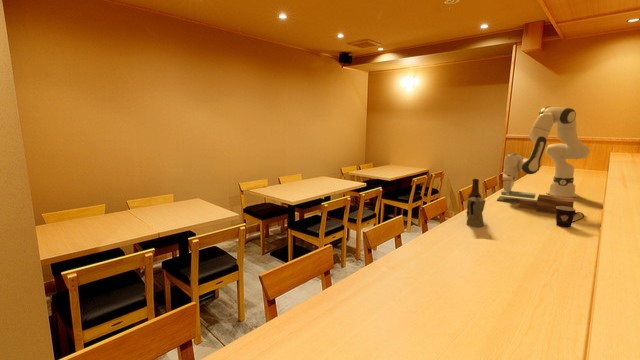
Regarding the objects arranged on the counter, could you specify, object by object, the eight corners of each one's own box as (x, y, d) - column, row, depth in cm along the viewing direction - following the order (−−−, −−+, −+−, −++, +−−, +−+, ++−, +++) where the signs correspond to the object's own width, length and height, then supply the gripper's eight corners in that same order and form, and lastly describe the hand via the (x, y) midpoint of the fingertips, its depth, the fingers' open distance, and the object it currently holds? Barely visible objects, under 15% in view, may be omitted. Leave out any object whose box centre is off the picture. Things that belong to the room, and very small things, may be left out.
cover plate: (502, 193, 230) (502, 190, 229) (535, 196, 217) (535, 193, 217) (501, 195, 225) (501, 191, 225) (534, 198, 212) (534, 195, 212)
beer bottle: (479, 219, 185) (481, 180, 181) (465, 217, 190) (467, 179, 185) (481, 216, 191) (484, 178, 187) (468, 214, 196) (470, 177, 191)
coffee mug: (550, 224, 173) (552, 207, 171) (559, 222, 177) (561, 205, 175) (574, 231, 163) (576, 212, 161) (583, 228, 166) (585, 210, 164)
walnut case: (520, 204, 213) (521, 192, 212) (572, 211, 196) (574, 197, 194) (517, 208, 204) (518, 196, 203) (572, 215, 187) (573, 202, 185)
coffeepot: (470, 220, 185) (471, 191, 182) (487, 223, 179) (489, 193, 176) (461, 227, 174) (462, 196, 171) (478, 230, 168) (481, 198, 165)
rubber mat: (500, 197, 234) (500, 195, 234) (541, 202, 218) (541, 200, 217) (496, 200, 225) (496, 199, 225) (540, 205, 209) (540, 204, 208)
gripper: (507, 173, 232) (505, 191, 235) (502, 177, 216) (500, 196, 219) (517, 174, 228) (515, 192, 231) (512, 178, 212) (511, 197, 215)
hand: (508, 194), depth 225 cm, fingers closed on cover plate, 6 cm apart
